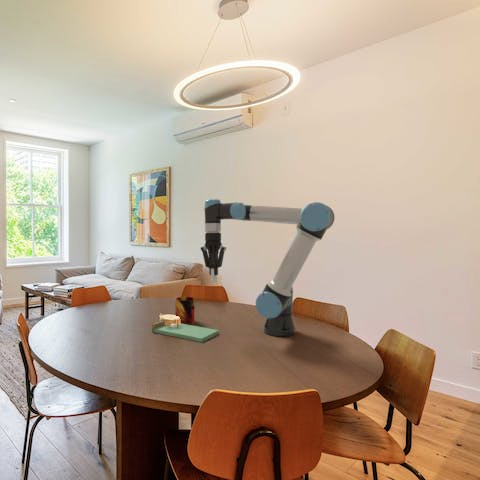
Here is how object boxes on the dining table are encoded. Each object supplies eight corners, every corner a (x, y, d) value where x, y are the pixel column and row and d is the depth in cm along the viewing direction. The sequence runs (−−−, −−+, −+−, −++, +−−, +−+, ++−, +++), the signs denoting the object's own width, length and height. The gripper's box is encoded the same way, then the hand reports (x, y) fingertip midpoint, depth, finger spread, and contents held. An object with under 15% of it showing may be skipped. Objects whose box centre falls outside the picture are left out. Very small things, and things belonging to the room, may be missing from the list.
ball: (172, 324, 165) (173, 331, 164) (168, 324, 162) (169, 330, 161) (177, 322, 164) (178, 329, 163) (174, 322, 161) (175, 329, 160)
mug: (193, 326, 170) (193, 302, 170) (171, 322, 177) (171, 299, 176) (204, 321, 179) (204, 299, 178) (182, 318, 185) (183, 296, 185)
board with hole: (218, 333, 159) (219, 326, 158) (201, 342, 146) (201, 333, 146) (171, 324, 172) (171, 317, 172) (152, 331, 159) (152, 324, 159)
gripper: (228, 232, 162) (229, 281, 162) (205, 232, 168) (206, 280, 168) (221, 232, 155) (222, 283, 156) (197, 232, 161) (197, 282, 161)
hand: (213, 282), depth 162 cm, fingers closed
